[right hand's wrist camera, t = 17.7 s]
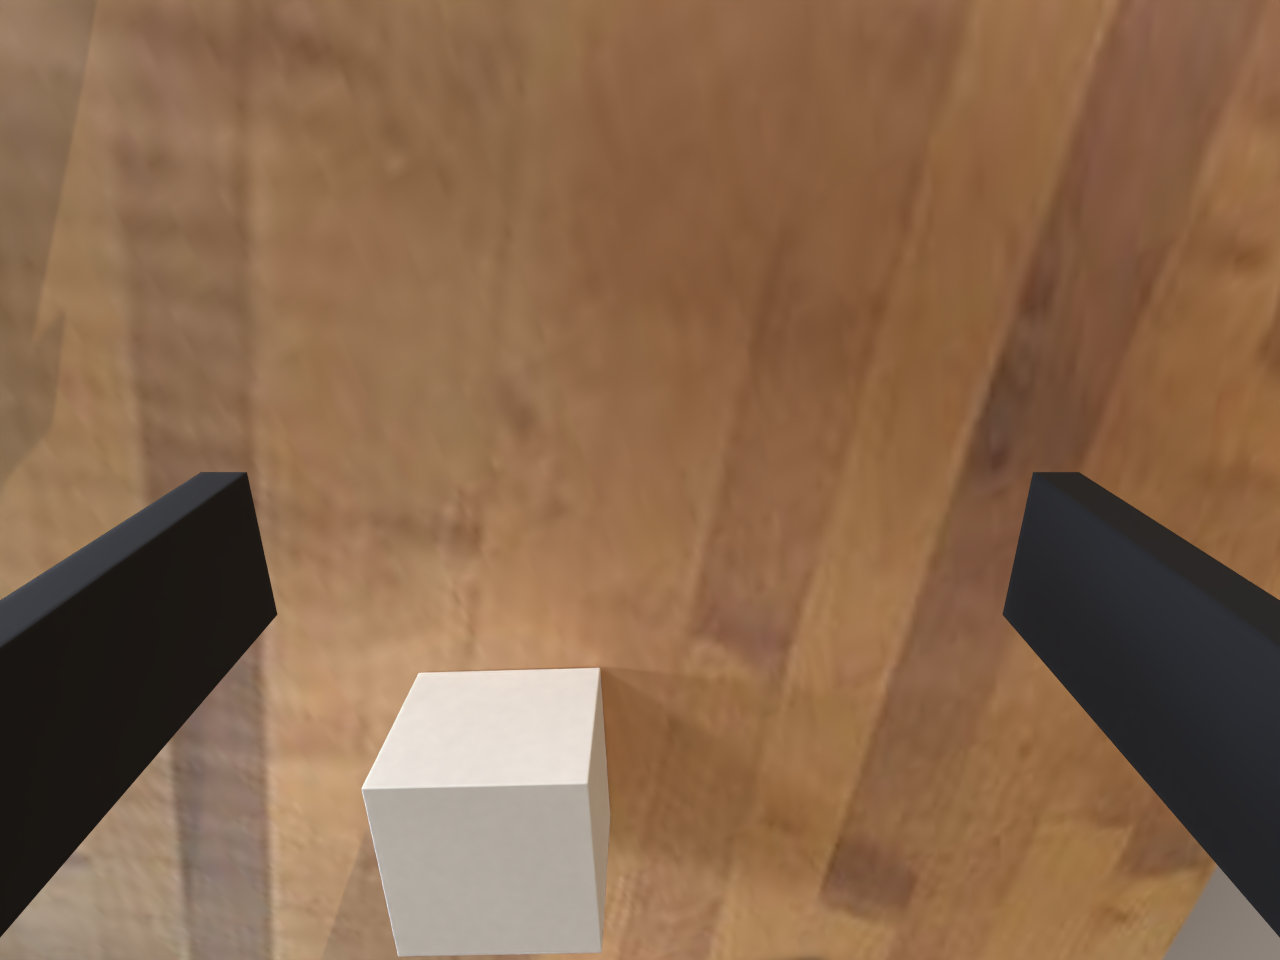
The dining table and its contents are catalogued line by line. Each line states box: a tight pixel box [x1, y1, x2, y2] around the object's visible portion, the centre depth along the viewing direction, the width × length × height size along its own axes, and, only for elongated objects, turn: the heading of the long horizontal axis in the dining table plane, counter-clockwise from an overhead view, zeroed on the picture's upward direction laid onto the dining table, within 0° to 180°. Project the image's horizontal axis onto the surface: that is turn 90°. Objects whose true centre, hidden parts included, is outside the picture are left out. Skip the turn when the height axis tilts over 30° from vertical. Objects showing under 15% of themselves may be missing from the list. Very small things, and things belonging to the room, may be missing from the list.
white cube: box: [362, 668, 610, 956], centre depth 33 cm, size 9×9×8 cm
